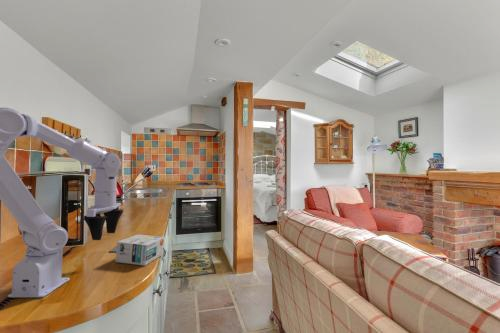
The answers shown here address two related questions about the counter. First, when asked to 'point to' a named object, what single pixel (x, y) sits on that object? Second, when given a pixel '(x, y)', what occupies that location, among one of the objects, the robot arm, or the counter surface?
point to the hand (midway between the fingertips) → (104, 236)
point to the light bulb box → (139, 249)
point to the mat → (113, 249)
